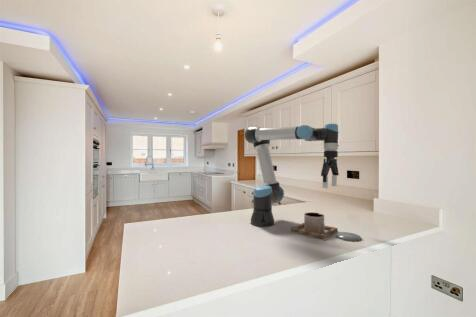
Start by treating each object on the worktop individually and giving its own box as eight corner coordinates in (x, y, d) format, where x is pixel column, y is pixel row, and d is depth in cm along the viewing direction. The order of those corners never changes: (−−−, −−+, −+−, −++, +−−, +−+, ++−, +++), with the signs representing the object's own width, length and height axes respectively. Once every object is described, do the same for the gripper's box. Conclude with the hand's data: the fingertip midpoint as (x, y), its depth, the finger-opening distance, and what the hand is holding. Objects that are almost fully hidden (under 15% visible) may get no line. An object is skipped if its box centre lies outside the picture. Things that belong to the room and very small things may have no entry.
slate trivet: (332, 237, 116) (332, 235, 116) (339, 231, 125) (339, 230, 125) (357, 243, 108) (357, 241, 108) (363, 237, 117) (363, 235, 117)
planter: (302, 232, 123) (302, 215, 123) (306, 227, 133) (306, 211, 133) (323, 235, 118) (323, 217, 118) (325, 230, 128) (325, 213, 128)
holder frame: (290, 231, 125) (290, 228, 125) (305, 224, 139) (305, 221, 139) (324, 239, 112) (324, 236, 112) (337, 231, 126) (337, 228, 126)
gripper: (328, 149, 117) (327, 189, 118) (344, 151, 136) (343, 185, 136) (315, 149, 123) (314, 188, 123) (332, 151, 141) (331, 184, 141)
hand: (329, 187), depth 129 cm, fingers open, 13 cm apart
